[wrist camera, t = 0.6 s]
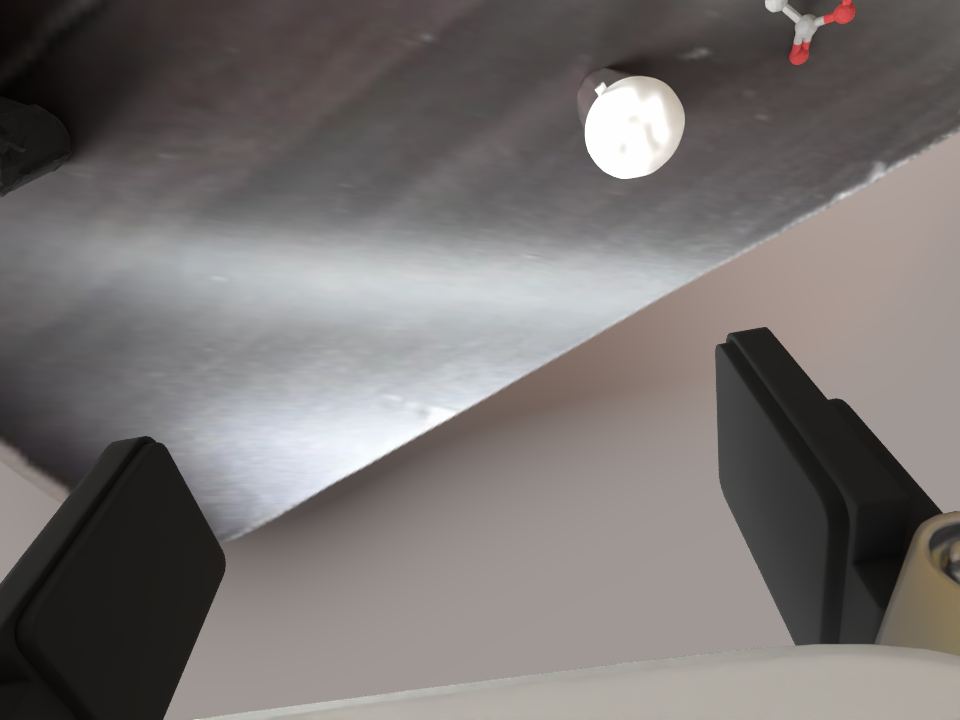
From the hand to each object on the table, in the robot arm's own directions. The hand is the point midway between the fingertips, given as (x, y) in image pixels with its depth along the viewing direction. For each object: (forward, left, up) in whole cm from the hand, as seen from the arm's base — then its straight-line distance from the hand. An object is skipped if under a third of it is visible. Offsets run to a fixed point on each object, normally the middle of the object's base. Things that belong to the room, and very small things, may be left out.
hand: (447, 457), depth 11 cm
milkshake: (+1, +8, -31) cm, 32 cm away
